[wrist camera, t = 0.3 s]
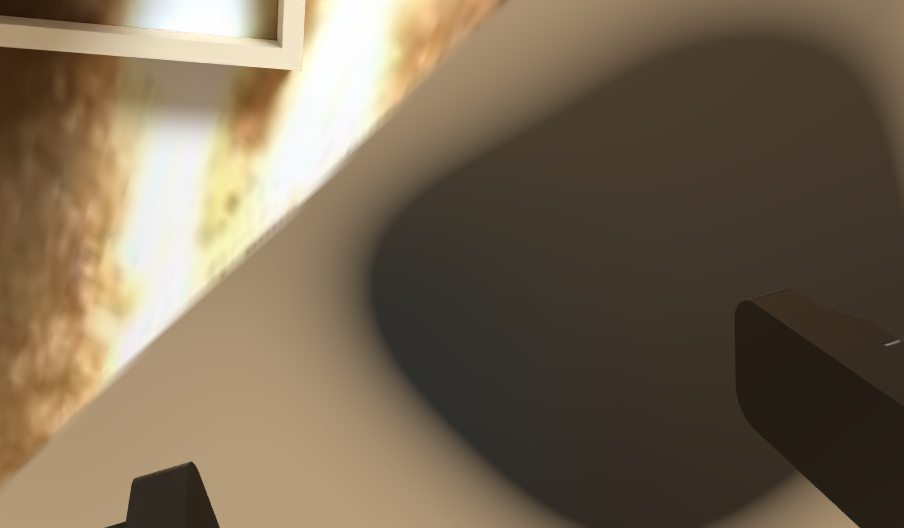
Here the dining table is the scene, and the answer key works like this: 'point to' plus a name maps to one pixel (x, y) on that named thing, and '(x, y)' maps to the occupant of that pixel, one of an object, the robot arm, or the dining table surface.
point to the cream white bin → (164, 41)
